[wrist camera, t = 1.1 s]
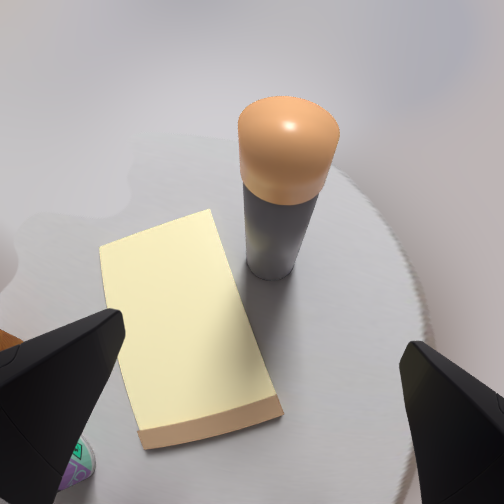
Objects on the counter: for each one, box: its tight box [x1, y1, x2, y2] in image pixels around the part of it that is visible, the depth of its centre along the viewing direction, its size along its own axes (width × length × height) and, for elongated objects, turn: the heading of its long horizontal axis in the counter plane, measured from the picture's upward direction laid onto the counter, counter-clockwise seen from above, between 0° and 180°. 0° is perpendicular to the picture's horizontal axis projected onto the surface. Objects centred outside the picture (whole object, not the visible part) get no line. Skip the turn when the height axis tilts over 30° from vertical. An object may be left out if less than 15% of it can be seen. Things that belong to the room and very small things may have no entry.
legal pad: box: [99, 209, 284, 450], centre depth 20 cm, size 18×11×1 cm, turn 20°
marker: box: [238, 96, 340, 281], centre depth 17 cm, size 4×4×14 cm
